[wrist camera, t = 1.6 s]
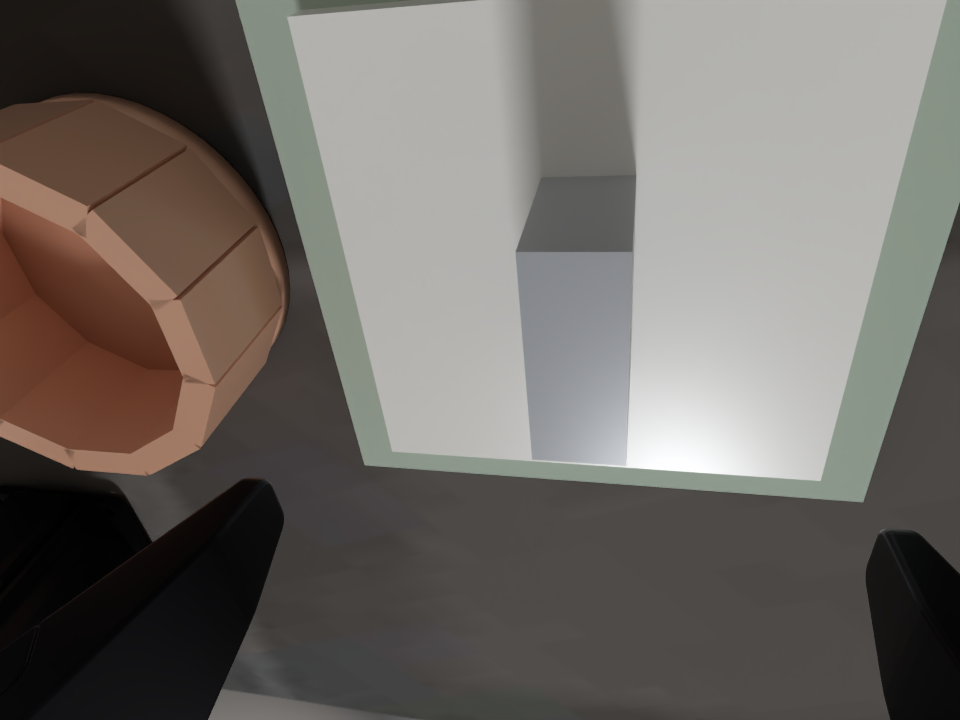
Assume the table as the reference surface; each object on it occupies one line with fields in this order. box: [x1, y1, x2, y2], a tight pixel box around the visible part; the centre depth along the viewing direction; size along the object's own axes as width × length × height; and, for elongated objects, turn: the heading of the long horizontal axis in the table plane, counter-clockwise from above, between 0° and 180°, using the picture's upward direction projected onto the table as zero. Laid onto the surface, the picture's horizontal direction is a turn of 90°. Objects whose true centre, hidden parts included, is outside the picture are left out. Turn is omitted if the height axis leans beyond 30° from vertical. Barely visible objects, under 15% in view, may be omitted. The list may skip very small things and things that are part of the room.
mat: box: [236, 0, 960, 502], centre depth 17 cm, size 15×15×1 cm
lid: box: [287, 0, 947, 481], centre depth 15 cm, size 12×12×4 cm
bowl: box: [0, 93, 290, 476], centre depth 18 cm, size 9×9×4 cm
